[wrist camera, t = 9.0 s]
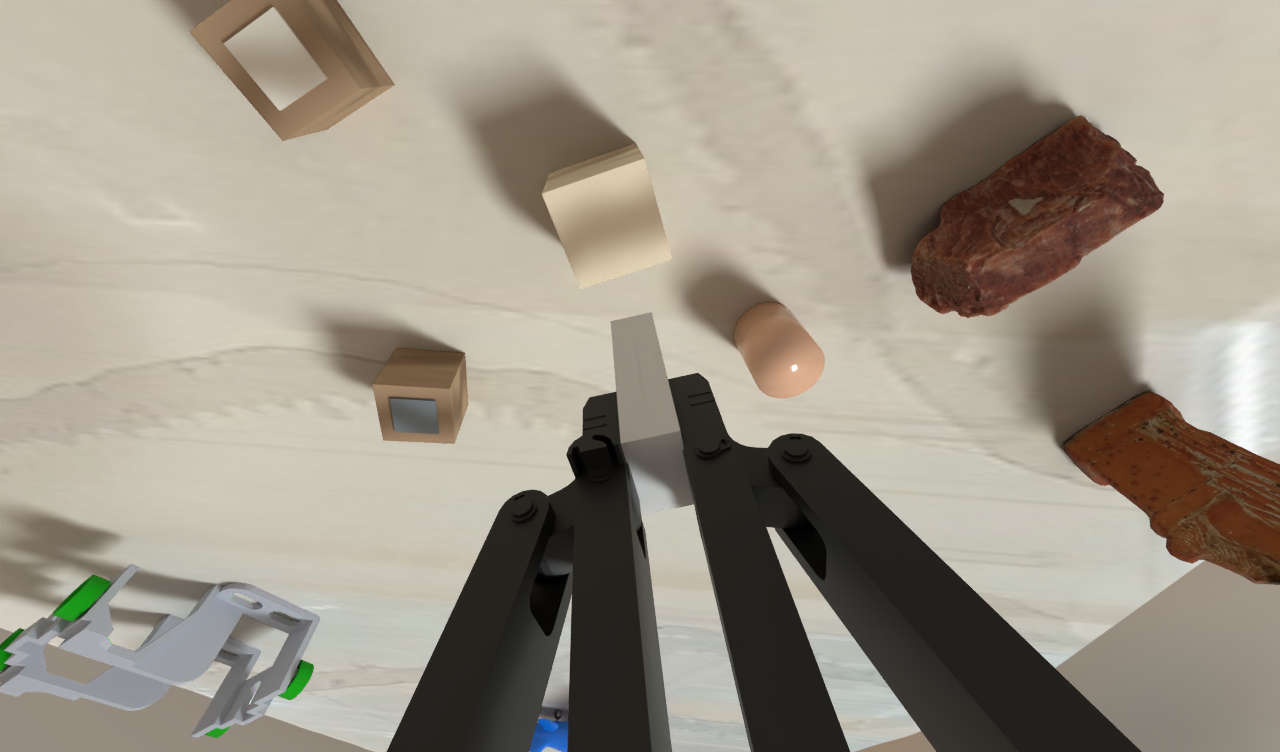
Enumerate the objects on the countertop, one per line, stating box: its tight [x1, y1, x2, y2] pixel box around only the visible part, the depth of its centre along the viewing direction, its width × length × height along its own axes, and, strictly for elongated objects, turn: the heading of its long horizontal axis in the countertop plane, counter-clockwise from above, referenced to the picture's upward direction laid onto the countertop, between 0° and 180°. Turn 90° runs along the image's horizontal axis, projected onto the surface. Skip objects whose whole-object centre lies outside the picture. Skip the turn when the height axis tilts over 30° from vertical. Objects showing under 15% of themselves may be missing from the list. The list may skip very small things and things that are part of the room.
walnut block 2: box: [372, 348, 468, 444], centre depth 43 cm, size 6×6×6 cm
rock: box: [911, 115, 1164, 318], centre depth 37 cm, size 18×6×9 cm, turn 132°
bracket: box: [0, 564, 320, 738], centre depth 57 cm, size 19×25×10 cm
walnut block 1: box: [189, 0, 395, 141], centre depth 29 cm, size 6×6×6 cm
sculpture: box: [1064, 392, 1280, 585], centre depth 46 cm, size 13×9×30 cm
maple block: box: [542, 143, 672, 289], centre depth 35 cm, size 7×7×7 cm
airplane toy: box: [529, 710, 568, 752], centre depth 84 cm, size 25×22×13 cm
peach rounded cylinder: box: [734, 302, 825, 398], centre depth 43 cm, size 6×6×7 cm
